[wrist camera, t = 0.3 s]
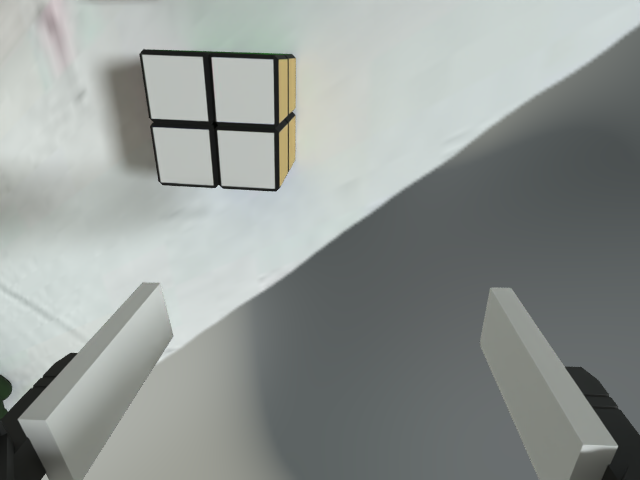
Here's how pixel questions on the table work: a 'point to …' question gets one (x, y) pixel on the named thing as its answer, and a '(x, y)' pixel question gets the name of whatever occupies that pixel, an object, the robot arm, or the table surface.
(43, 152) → the table surface
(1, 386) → the toy figurine
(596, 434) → the robot arm
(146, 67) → the puzzle cube
